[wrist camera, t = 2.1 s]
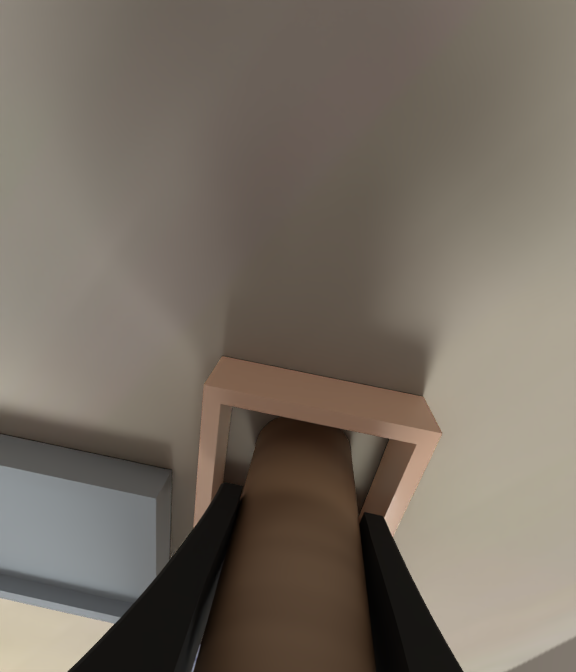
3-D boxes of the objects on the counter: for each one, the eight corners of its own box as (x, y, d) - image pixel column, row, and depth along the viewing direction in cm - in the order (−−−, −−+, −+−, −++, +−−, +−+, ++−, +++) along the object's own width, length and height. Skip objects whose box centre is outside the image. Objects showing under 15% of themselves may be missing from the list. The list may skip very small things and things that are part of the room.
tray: (168, 601, 19) (156, 633, 17) (-68, 548, 19) (-99, 575, 18) (172, 470, 14) (156, 498, 13) (-135, 405, 15) (-182, 426, 13)
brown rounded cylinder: (338, 495, 14) (354, 779, 7) (250, 476, 14) (181, 739, 7) (362, 424, 12) (412, 704, 5) (262, 404, 12) (188, 654, 6)
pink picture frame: (367, 530, 15) (373, 577, 13) (208, 496, 15) (192, 538, 13) (423, 396, 12) (442, 433, 10) (222, 356, 12) (203, 384, 10)
